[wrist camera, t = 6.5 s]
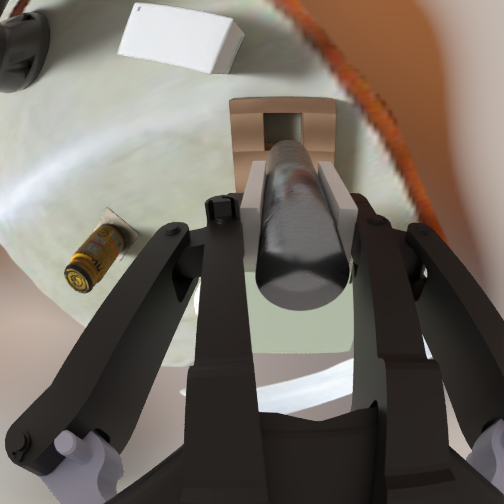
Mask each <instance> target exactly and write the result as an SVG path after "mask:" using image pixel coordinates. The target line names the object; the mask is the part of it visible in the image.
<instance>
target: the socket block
mask: <svg viewBox="0 0 504 504" xmlns="http://www.w3.org/2000/svg"><path fill="white" fill-rule="evenodd" d="M229 108H230V122H231V135H232V148H233V161H234V173H235V186H236V193H244V192H245V188H246V184H247V181H248V177H249V174H250V170H251V166H252V163H253V161H266V173H267V164H268V155H269V152H270V150H271V148H272V147H273V146H274V145H275V144H277V143H265V120H264V113H301V144H302V145H303V146H304V147H305V148H306V149H307V151H308V153H309V155H310V158H311V160H312V163H313V165H314V168H315V170H316V173H317V175H318V161H330V162H331V163H332V165H333V166H334V157H335V132H336V100H334V99H331V98H322V97H246V98H233V99H231V100H229Z"/></svg>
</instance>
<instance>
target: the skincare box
mask: <svg viewBox="0 0 504 504" xmlns="http://www.w3.org/2000/svg"><path fill="white" fill-rule="evenodd" d="M244 36H245V33H244V32H243V31H242V30H241V29H240V27H239V26H238V25H237V23H236V22H235V20H234V19H233V18H231V17H226V16H222V15H217V14H213V13H208V12H203V11H198V10H192V9H187V8H181V7H174V6H167V5H159V4H150V3H139V2H137V3H135V4H134V6H133V9H132V11H131V14H130V17H129V19H128V22H127V25H126V28H125V31H124V33H123V36H122V39H121V42H120V46H119V49H118V53H117V54H118V55H122V56H128V57H133V58H139V59H145V60H150V61H155V62H160V63H165V64H170V65H174V66H179V67H183V68H187V69H191V70H195V71H199V72H203V73H207V74H228V73H229V71H230V68H231V66H232V63H233V61H234V58H235V56H236V54H237V52H238V49H239V47H240V45H241V43H242V41H243V38H244Z"/></svg>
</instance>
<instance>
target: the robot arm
mask: <svg viewBox="0 0 504 504" xmlns="http://www.w3.org/2000/svg"><path fill="white" fill-rule="evenodd" d="M8 1H9V0H0V17H1V15H2V13H3V11H4V9H5V7H6V5H7V3H8ZM49 38H50V32H49V25H48V22H47V20H46V18H45V17H44V16H43V15H42V14H40V13H32V12H27V13H22V14H19V15H17V16H14V17H12V18H9V19H7V20H4V21H2V22H0V92H2V93H12V92H16V91H20V90H22V89H24V88H26V87H27V86H28V85H30V84H31V83H32V81H33V80H34V79H35V78H36V76H37V75H38V73H39V71H40V70H41V68H42V65H43V63H44V61H45V58H46V55H47V51H48V46H49ZM318 178H319V180H320V183H321V185H322V188H323V191H324V193H325V196H326V199H327V201H328V204H329V207H330V209H331V212H332V215H333V218H334V221H335V224H336V226H337V229H338V232H339V235H340V238H341V241H342V244H343V247H344V250H345V253H346V257H347V260H348V263H349V264H350V258H351V255H352V258H353V260H354V261H353V266H352V271H351V276H350V281H349V284H351V283H352V284H353V309H354V372H353V397H352V407H351V411H350V412H349V413H346V414H343V415H340V416H337V417H334V418H331V419H327V420H324V421H312V420H307V419H302V418H297V417H293V416H288V415H284V414H280V413H269V412H259V411H258V401H257V392H256V382H255V373H254V363H253V355H252V345H251V335H250V325H249V314H248V304H247V294H246V283H245V272H244V264H252V265H256V263H257V254H258V245H259V236H260V230H261V221H262V212H263V202H264V193H265V184H266V161H253V163H252V166H251V170H250V174H249V177H248V181H247V184H246V188H245V192H244V193H229V194H228V195H220V196H215V197H212V198H210V199H208V200H206V202H205V209H206V216H207V227H204V228H201V229H197V230H192V231H189V227H188V225H187V224H185V223H182V222H171V223H168V224H166V225H164V226H162V227H161V228H160V229H159V230H158V231H157V232H156V233H155V234H154V236H153V237H152V238H151V239H150V241H149V242H148V243H147V244H146V246H145V247H144V248H143V250H142V251H141V252H140V253H139V255H138V256H137V257H136V259H135V260H134V261H133V262H132V264H131V265H130V266H129V268H128V269H127V270H126V272H125V273H124V274H123V276H122V277H121V278H120V280H119V281H118V283H117V284H116V285H115V287H114V288H113V289H112V291H111V292H110V294H109V295H108V296H107V298H106V299H105V301H104V302H103V304H102V305H101V306H100V308H99V309H98V311H97V312H96V314H95V315H94V317H93V318H92V320H91V321H90V323H89V324H88V326H87V327H86V329H85V330H84V332H83V333H82V335H81V336H80V338H79V340H78V341H77V343H76V344H75V346H74V347H73V349H72V351H71V352H70V354H69V355H68V357H67V359H66V360H65V362H64V364H63V365H62V367H61V369H60V370H59V372H58V374H57V376H56V377H55V379H54V381H53V382H52V384H51V386H50V387H49V388H48V389H47V390H45V392H44V393H43V394H42V395H41V396H40V397H39V398H38V399H37V400H36V401H35V402H34V403H33V404H32V405H31V406H30V407H29V408H28V409H27V410H26V411H25V412H24V413H23V414H22V415H21V416H20V417H19V418H18V419H17V420H16V421H15V422H14V423H13V424H12V425H11V427H10V428H9V430H8V432H7V434H6V438H5V448H6V451H7V454H8V457H9V458H10V459H11V460H12V462H13V463H15V464H17V465H18V466H20V467H22V468H24V469H26V470H28V471H30V472H32V473H34V474H36V475H37V476H39V477H40V478H41V479H42V480H43V482H44V483H45V484H46V485H47V487H48V488H49V489H50V491H51V492H52V493H53V494H54V496H55V497H56V498H57V499H58V500H59V502H60V503H61V504H504V320H503V319H502V317H501V316H500V314H499V313H498V311H497V310H496V308H495V307H494V305H493V304H492V303H491V301H490V300H489V298H488V297H487V295H486V294H485V292H484V291H483V290H482V288H481V287H480V286H479V284H478V283H477V282H476V280H475V279H474V278H473V276H472V275H471V274H470V272H468V270H467V269H466V267H465V266H464V265H463V264H462V262H461V261H460V260H459V259H458V257H457V256H456V255H455V254H454V253H453V251H452V250H451V249H450V248H449V247H448V246H447V244H446V243H445V242H444V241H443V240H442V239H441V238H440V237H439V235H438V234H437V233H436V232H435V231H434V230H433V229H432V228H430V227H429V226H427V225H426V224H422V223H411V224H409V225H408V229H407V232H405V231H401V230H396V229H393V228H392V226H391V223H390V222H389V220H388V219H386V218H385V217H383V216H380V215H377V214H376V213H375V211H374V210H373V208H372V207H371V205H370V203H369V202H368V200H367V199H366V198H365V197H364V196H362V195H361V194H359V193H349V192H348V190H347V188H346V186H345V185H344V183H343V181H342V180H341V178H340V176H339V175H338V173H337V171H336V170H335V168H334V166H333V165H332V163H331V162H330V161H318ZM243 259H244V262H243ZM425 268H426V269H427V278H426V277H425V276H424V274H423V273H424V271H425ZM199 277H201V285H200V295H199V307H198V319H197V333H196V347H195V361H194V365H193V366H190V367H189V370H188V375H187V389H186V406H185V429H184V444H183V445H182V446H181V447H179V448H178V449H177V450H176V451H175V452H173V453H172V454H171V455H170V456H168V457H167V458H166V459H165V460H163V461H162V462H161V463H159V464H158V465H157V466H156V467H154V468H153V469H152V470H150V471H149V472H148V473H146V474H145V475H144V476H142V477H141V478H140V479H138V480H137V481H135V482H134V483H133V484H131V485H130V486H128V487H127V488H126V489H124V490H123V491H121V492H120V493H118V494H117V491H116V485H117V481H118V479H120V478H121V477H122V476H123V473H124V470H123V467H122V460H121V457H120V454H121V452H122V451H123V449H124V448H125V446H126V445H127V443H128V441H129V440H130V438H131V435H132V433H133V431H134V429H135V427H136V424H137V422H138V419H139V417H140V414H141V412H142V409H143V407H144V404H145V402H146V400H147V397H148V394H149V392H150V390H151V387H152V385H153V383H154V380H155V378H156V375H157V373H158V371H159V368H160V366H161V364H162V361H163V359H164V357H165V354H166V352H167V350H168V347H169V345H170V343H171V341H172V338H173V336H174V334H175V331H176V329H177V327H178V325H179V322H180V320H181V318H182V316H183V314H184V311H185V309H186V307H187V305H188V303H189V300H190V298H191V296H192V294H193V292H194V289H195V287H196V285H197V283H198V279H199ZM422 334H423V337H424V339H425V341H426V343H427V345H428V347H429V350H430V352H431V354H432V356H433V359H428V358H427V356H426V353H425V347H424V342H423V337H422ZM442 380H443V383H444V385H445V388H446V390H447V393H448V396H449V398H450V401H451V404H452V407H453V409H454V412H455V415H456V418H457V421H458V423H459V426H460V428H461V431H462V433H463V435H464V437H465V439H466V441H467V443H468V445H469V446H470V448H471V449H472V453H470V454H469V455H468V457H467V459H466V460H465V459H463V458H462V457H461V456H460V455H459V454H458V453H457V452H456V451H454V450H453V449H452V448H451V447H450V446H449V440H448V424H447V414H446V404H445V396H444V389H443V383H442Z"/></svg>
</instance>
